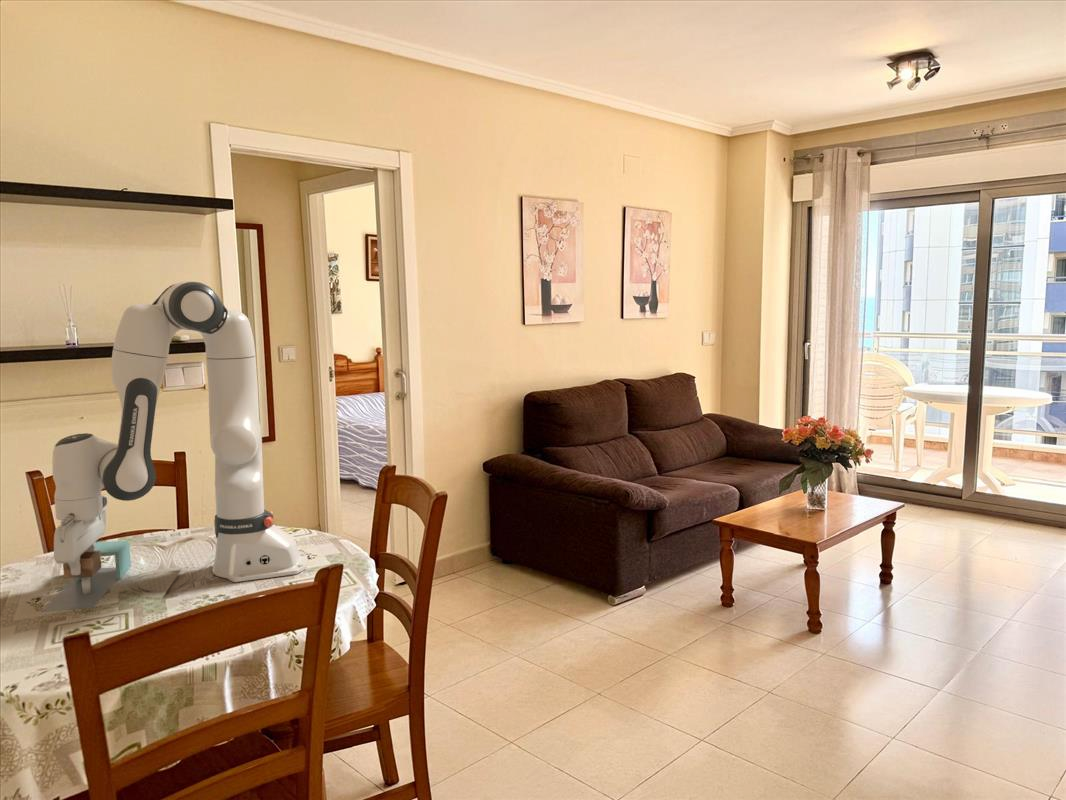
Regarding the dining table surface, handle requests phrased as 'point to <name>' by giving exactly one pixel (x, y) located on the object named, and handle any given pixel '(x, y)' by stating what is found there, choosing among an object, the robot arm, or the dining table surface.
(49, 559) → the dining table surface
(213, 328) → the robot arm
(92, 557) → the block
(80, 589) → the housing base
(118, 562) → the cover
